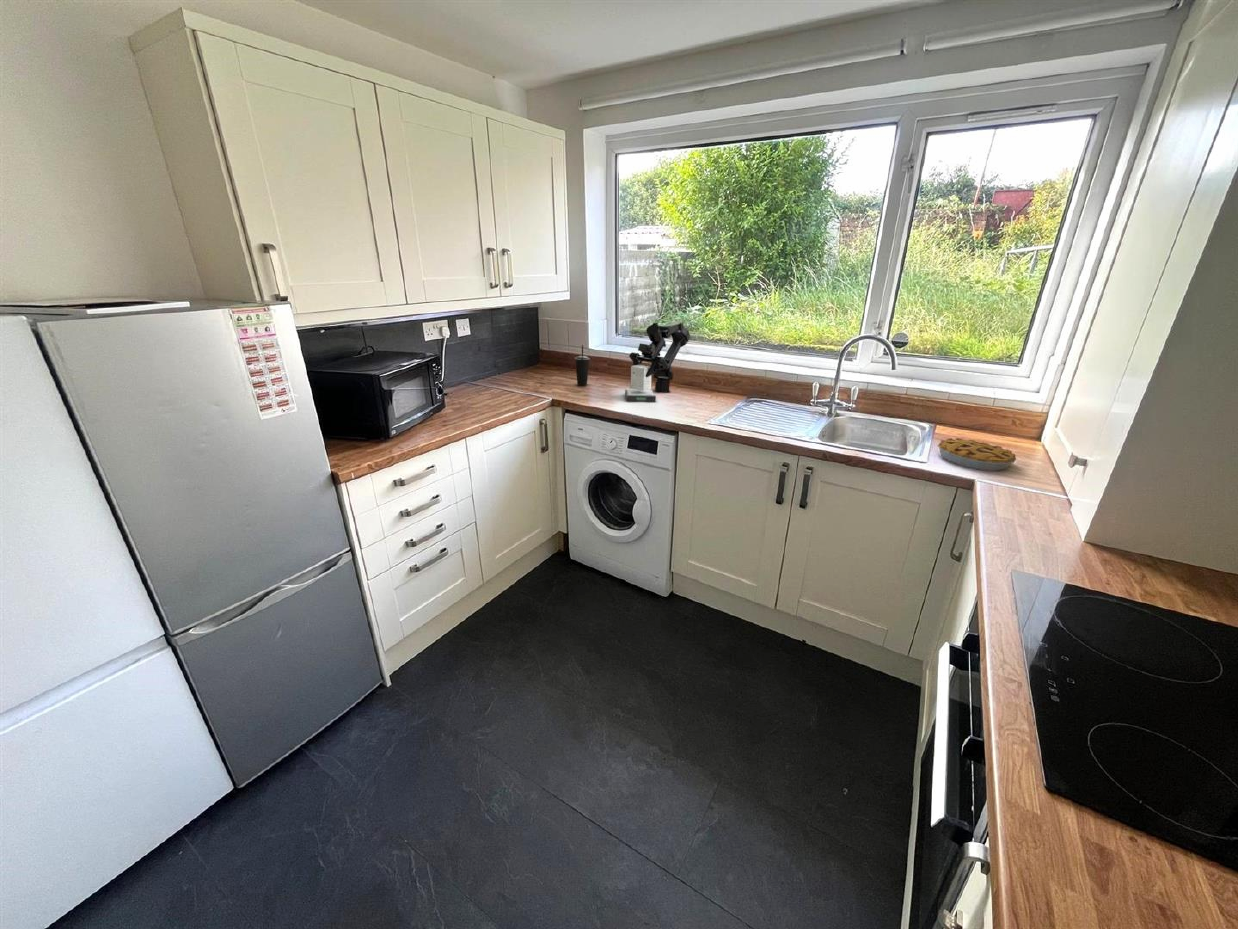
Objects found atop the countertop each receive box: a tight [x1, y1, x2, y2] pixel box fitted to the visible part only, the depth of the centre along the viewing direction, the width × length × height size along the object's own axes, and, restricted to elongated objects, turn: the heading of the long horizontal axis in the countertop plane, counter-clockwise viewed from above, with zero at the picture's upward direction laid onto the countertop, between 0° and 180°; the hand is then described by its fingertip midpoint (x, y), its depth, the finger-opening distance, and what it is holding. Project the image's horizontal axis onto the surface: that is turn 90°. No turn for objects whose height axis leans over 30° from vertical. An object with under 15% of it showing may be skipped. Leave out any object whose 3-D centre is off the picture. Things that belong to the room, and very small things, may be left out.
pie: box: [937, 437, 1017, 472], centre depth 166 cm, size 22×22×5 cm
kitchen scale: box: [624, 388, 657, 403], centre depth 232 cm, size 13×13×3 cm
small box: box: [630, 364, 652, 391], centre depth 229 cm, size 8×6×10 cm
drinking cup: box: [574, 344, 591, 387], centre depth 251 cm, size 8×8×20 cm
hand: (639, 375), depth 228 cm, fingers closed on small box, 8 cm apart
